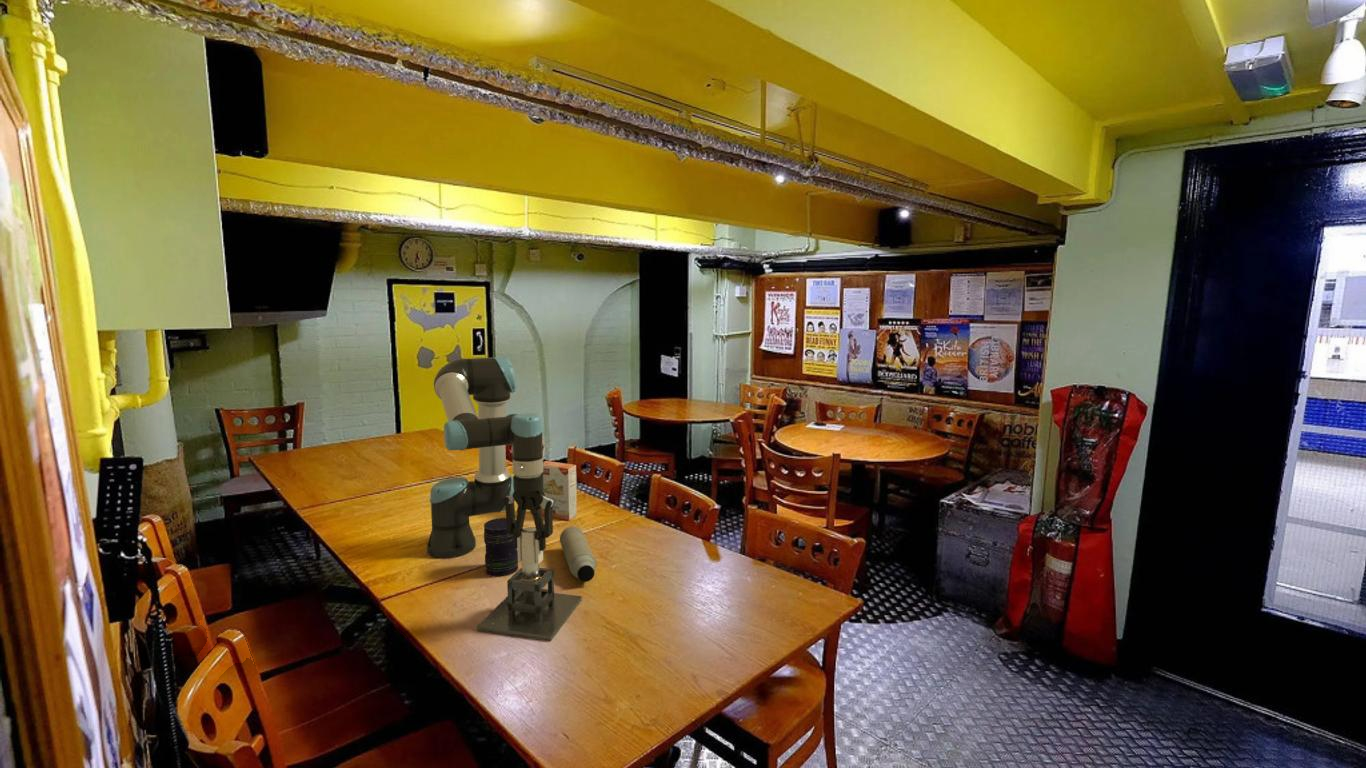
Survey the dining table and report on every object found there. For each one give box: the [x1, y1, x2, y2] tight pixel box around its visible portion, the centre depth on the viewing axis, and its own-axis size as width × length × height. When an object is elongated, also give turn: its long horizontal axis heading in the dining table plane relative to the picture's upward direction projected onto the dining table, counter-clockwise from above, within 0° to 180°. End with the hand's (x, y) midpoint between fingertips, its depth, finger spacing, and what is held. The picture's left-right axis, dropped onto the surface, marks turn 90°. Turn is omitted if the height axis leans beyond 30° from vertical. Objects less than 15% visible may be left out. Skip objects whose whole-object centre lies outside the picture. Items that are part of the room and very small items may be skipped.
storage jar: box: [483, 517, 519, 578], centre depth 177 cm, size 10×10×15 cm
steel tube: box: [521, 526, 541, 603], centre depth 150 cm, size 5×5×20 cm
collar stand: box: [476, 567, 583, 642], centre depth 151 cm, size 20×20×11 cm
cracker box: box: [540, 460, 578, 521], centre depth 221 cm, size 14×6×21 cm, turn 68°
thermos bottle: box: [559, 525, 597, 583], centre depth 180 cm, size 8×8×28 cm
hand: (530, 560), depth 150 cm, fingers closed on steel tube, 4 cm apart
